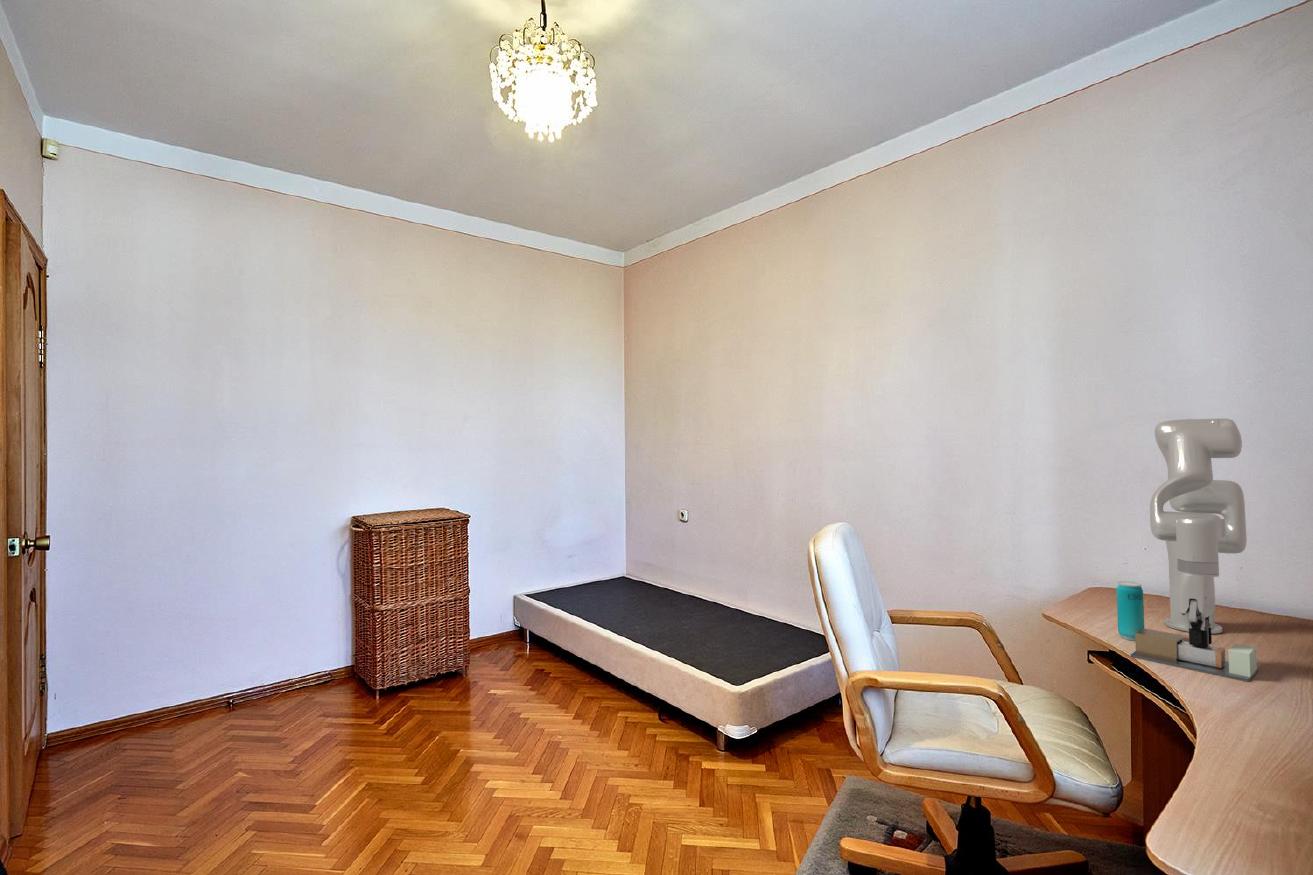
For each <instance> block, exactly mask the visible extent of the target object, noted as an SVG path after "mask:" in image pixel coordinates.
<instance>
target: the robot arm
mask: <svg viewBox="0 0 1313 875" xmlns="http://www.w3.org/2000/svg"><path fill="white" fill-rule="evenodd" d="M1154 438H1155V441H1156V444H1157V447H1158V449H1159V451H1160V452H1161V454H1162V456H1163V458H1164V460H1165V463H1166V466H1167V480H1165V481H1164V482H1163V483H1161V484H1160V486H1158V487H1157V489H1156V490H1155V491H1154V493H1153V494H1152V497H1151V499H1150V501H1149V502H1150V503H1149V524H1150V525H1149V526H1150V531H1151V534H1152V535H1153V536H1154V538H1155V539H1157V540H1159V541H1165V545H1166V549H1167V556H1168V558H1167V559H1168V576H1169V577H1168V579H1169V603H1170V607H1169V609H1170V617H1167V618H1165V619H1163V624H1164V625H1165V626H1166V627H1168V628H1172V629H1174V630H1179V631H1182V632H1186V633H1187V632H1188V639H1189V640H1188V642H1189V644H1190V645H1193V646H1198V647H1203V648H1206V647H1207V631H1206V630H1205V619H1207V620H1208V633H1209V645H1212V642H1213V641H1212V635H1213V634H1214V635H1215V634H1216V635H1217V634H1220V633H1222V632H1223V626H1221V625H1219V624H1218V623H1215V622H1216V621H1215V610H1216V590H1215V589H1216V587H1215V577H1217V578H1218V577H1219V576H1220V564H1219V554H1241V553H1243V552H1244V551H1246V550H1245V549H1246V547H1247V526H1246V525H1247V524H1246V505H1245V503H1246V502H1245V497H1244V496H1245V495H1244V492H1243V489H1242V486H1241V485H1240V484H1238V483H1237V482H1236V481H1232V480H1227V479H1226V480H1223V479H1222V480H1221V479H1216V480H1215V479H1214V473H1213V464H1212V459H1235V458H1237V457H1239V455H1240V454H1241V452H1242V448H1243V441H1242V434H1241V433H1240V430H1239V427H1238V425H1237V424H1236V422H1235V421H1234V420H1233V419H1230V418H1198V419H1197V418H1196V419H1195V418H1190V419H1174V420H1167V421H1162V422H1159V423H1157V425H1155V427H1154ZM1168 501H1169V505H1170V507H1171V508H1172V510H1174V511H1165V510H1164V507H1165V504H1166V503H1167V502H1168ZM1219 515H1220V516H1222V517H1223V518H1221V517H1220V516H1219ZM1198 619H1199V620H1198ZM1200 620H1201V622H1200Z"/></svg>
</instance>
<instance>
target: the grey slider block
mask: <svg viewBox="0 0 1313 875" xmlns="http://www.w3.org/2000/svg"><path fill="white" fill-rule="evenodd" d="M1198 620H1199V619H1198ZM1200 622H1201V620H1200ZM1205 630H1206V631H1207V647H1206V648H1203V647H1198V646H1193V645H1190V644H1189V641H1185V640H1183V641H1179V642H1177V659H1180V660H1185V661H1190V662H1195V663H1200V664H1205V665H1209V666H1214V667H1219V668H1222V667H1223V666H1224V665H1225V664H1226V648H1225V647H1220V646H1219V647H1218V646H1212V645H1210V644H1209V633H1208V620H1207V619H1205Z"/></svg>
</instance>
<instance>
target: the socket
mask: <svg viewBox="0 0 1313 875" xmlns="http://www.w3.org/2000/svg"><path fill="white" fill-rule="evenodd" d="M1227 651H1228V662H1229V673H1233V674H1237V675H1242V676H1247V677H1251V676H1252V675H1253V673H1254V672H1255V671H1256V670H1257V668H1258V667H1257V647H1256V646H1252V645H1247V644H1241V643H1234V644H1233V645H1232V646H1231V647H1230V648H1228V650H1227Z"/></svg>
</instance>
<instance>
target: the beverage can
mask: <svg viewBox="0 0 1313 875" xmlns="http://www.w3.org/2000/svg"><path fill="white" fill-rule="evenodd" d="M1144 610H1145V609H1144V590H1143V588H1142V584H1141V583H1138V582H1135V581H1134V582H1133V581H1117V586H1116V612H1117V615H1116V616H1117V631H1118V634H1119V636H1120V637H1121V639H1123V640H1127V641H1133V642H1134V641H1135V633H1136V632H1138V631H1139V630H1141V629H1143V628H1145V614H1144ZM1135 642H1136V641H1135Z"/></svg>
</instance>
